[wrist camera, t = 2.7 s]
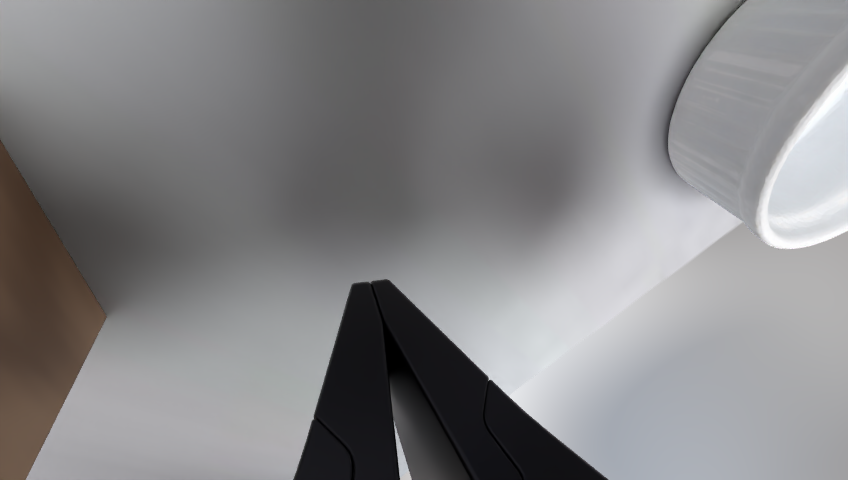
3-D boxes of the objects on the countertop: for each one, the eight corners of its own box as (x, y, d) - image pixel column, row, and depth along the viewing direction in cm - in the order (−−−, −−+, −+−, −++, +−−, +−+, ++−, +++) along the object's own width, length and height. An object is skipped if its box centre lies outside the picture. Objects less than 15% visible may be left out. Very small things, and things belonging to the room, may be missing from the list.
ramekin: (617, 94, 12) (742, 146, 9) (897, -167, 10) (1212, -230, 6) (680, 223, 17) (772, 286, 14) (869, 76, 15) (1034, 110, 12)
